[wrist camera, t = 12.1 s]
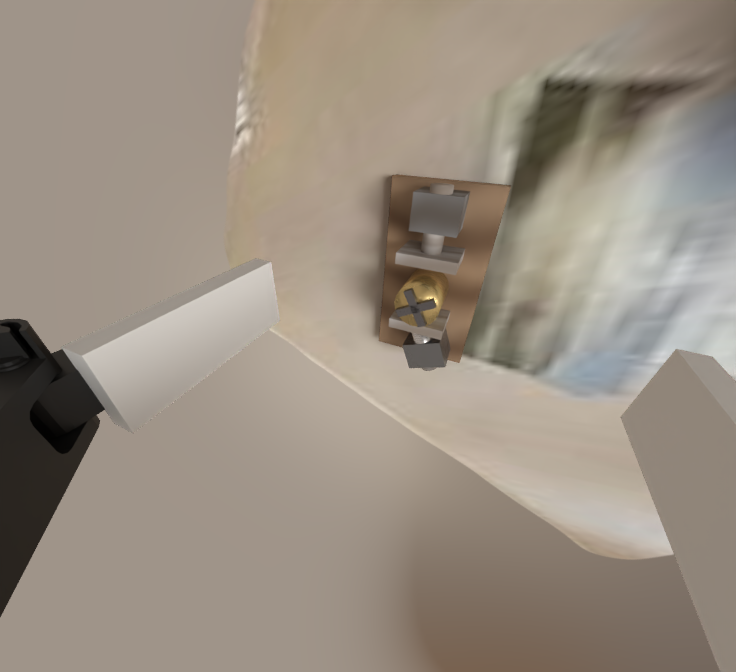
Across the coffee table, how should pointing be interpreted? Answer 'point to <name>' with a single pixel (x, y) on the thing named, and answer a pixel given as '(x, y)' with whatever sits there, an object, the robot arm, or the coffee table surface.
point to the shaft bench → (468, 267)
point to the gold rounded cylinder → (421, 297)
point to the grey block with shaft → (426, 351)
